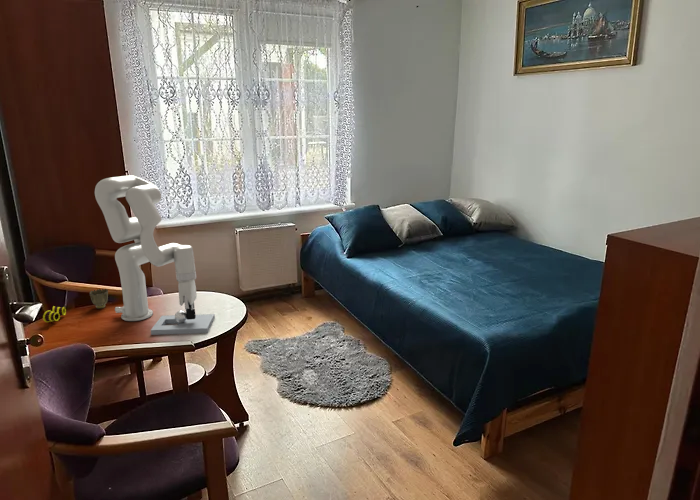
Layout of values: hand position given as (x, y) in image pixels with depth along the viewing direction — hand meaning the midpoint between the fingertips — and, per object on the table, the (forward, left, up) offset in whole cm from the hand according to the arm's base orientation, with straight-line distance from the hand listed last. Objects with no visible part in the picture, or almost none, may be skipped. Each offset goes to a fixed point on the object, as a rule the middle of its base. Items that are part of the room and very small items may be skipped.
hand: (191, 318), depth 201 cm
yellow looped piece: (-60, +13, -4) cm, 62 cm away
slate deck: (-3, +1, -4) cm, 5 cm away
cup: (-46, +25, -4) cm, 53 cm away
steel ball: (-4, 0, +1) cm, 4 cm away
